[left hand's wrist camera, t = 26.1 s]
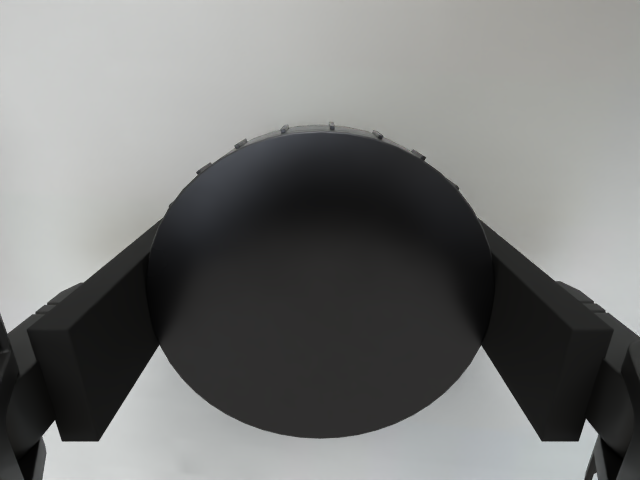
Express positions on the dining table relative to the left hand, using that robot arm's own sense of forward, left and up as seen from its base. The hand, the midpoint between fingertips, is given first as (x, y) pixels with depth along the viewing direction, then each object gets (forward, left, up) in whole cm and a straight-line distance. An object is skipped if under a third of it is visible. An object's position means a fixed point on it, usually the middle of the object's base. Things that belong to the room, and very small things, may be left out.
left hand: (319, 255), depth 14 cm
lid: (0, 0, +3) cm, 3 cm away
